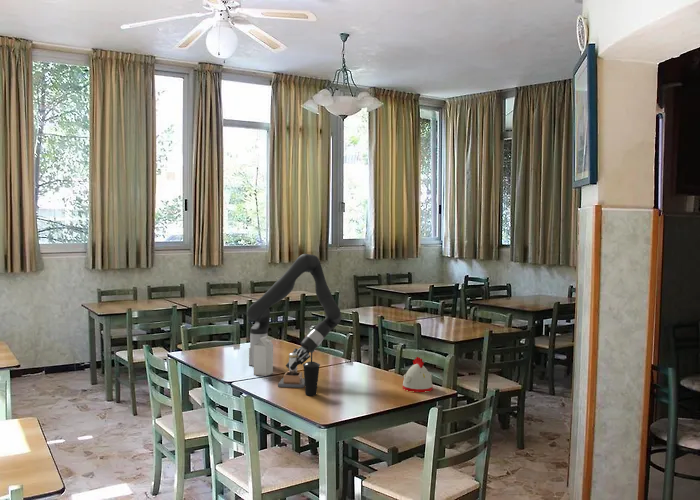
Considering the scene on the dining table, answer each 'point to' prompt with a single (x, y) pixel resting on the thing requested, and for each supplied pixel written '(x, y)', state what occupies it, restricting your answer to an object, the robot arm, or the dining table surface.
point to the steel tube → (291, 360)
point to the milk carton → (263, 357)
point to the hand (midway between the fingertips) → (289, 368)
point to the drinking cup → (311, 377)
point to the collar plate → (292, 381)
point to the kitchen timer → (417, 378)
